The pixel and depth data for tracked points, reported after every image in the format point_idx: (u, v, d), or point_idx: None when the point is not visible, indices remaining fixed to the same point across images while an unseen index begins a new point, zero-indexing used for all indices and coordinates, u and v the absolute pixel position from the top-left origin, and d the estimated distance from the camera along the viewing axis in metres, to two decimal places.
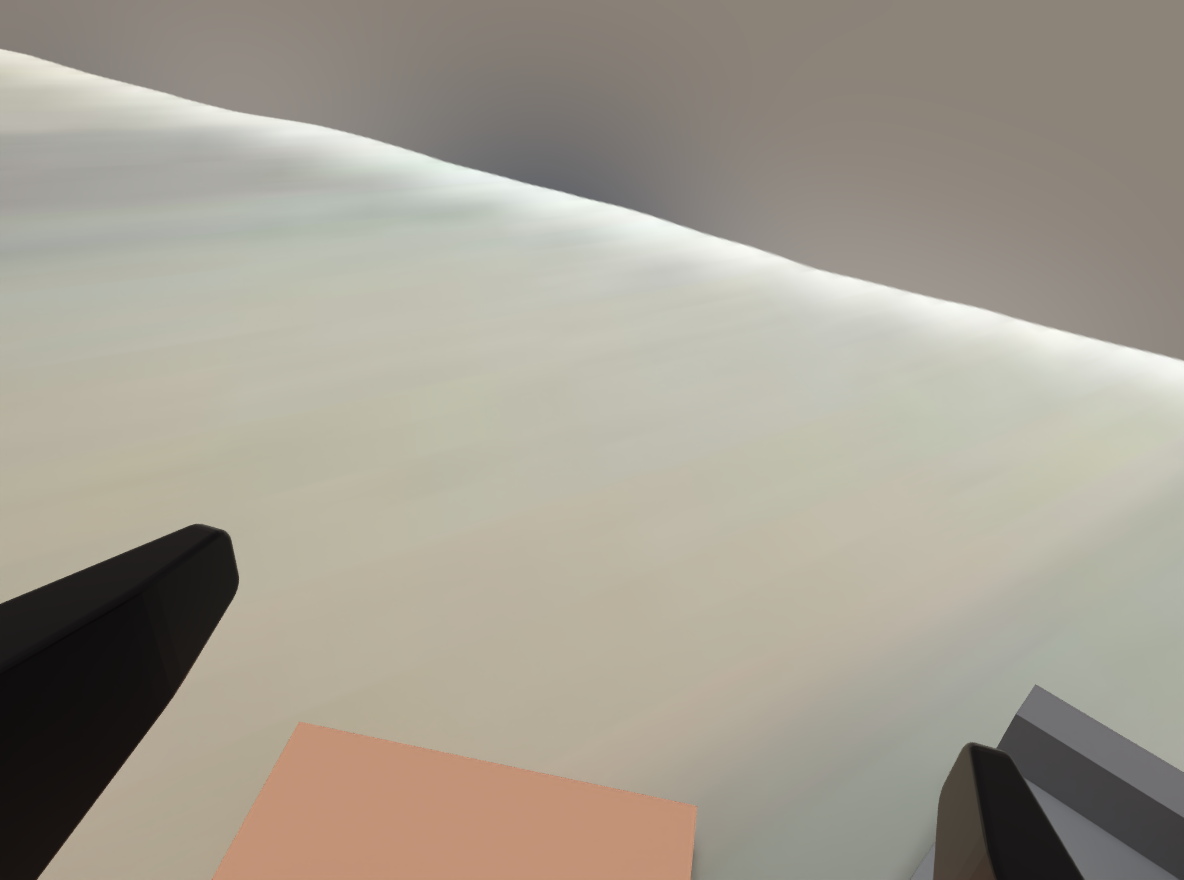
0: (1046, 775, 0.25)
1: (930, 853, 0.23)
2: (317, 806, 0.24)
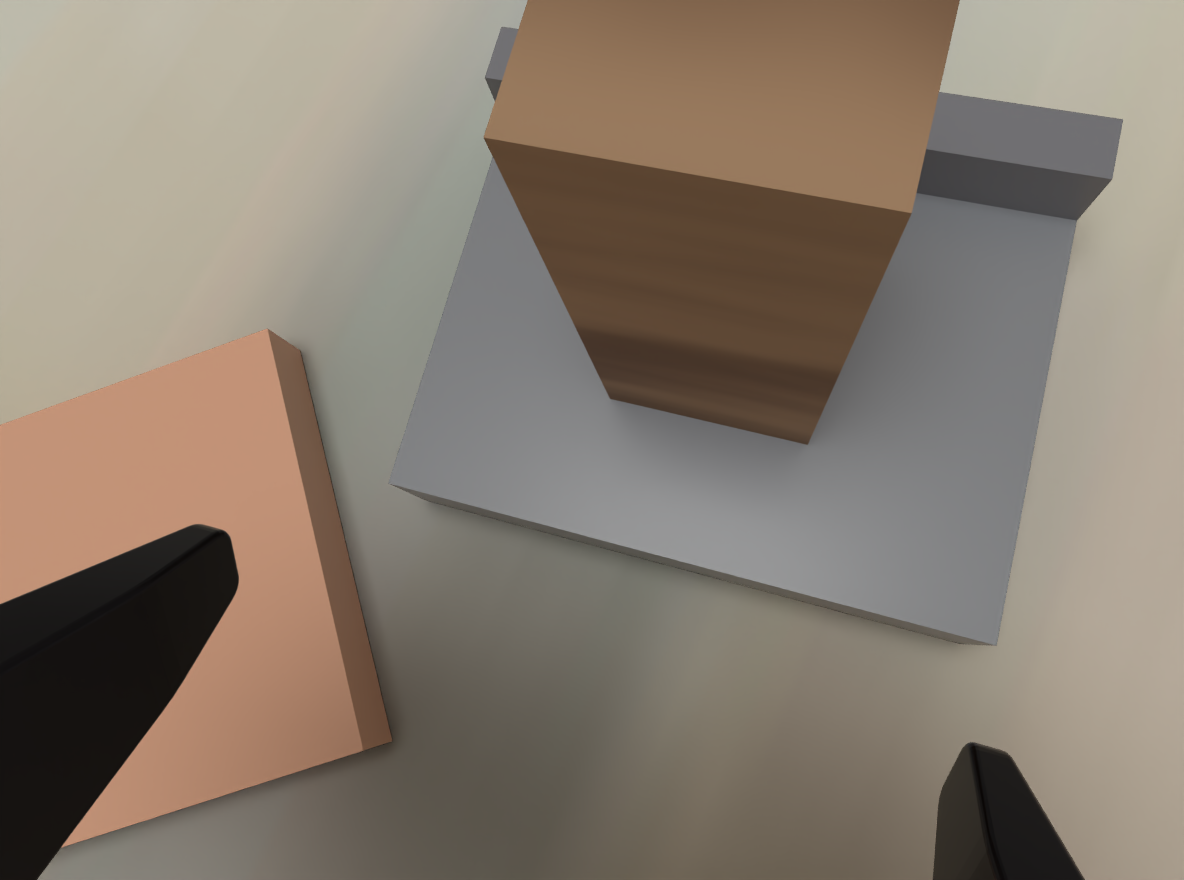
0: None
1: (461, 260, 0.23)
2: None
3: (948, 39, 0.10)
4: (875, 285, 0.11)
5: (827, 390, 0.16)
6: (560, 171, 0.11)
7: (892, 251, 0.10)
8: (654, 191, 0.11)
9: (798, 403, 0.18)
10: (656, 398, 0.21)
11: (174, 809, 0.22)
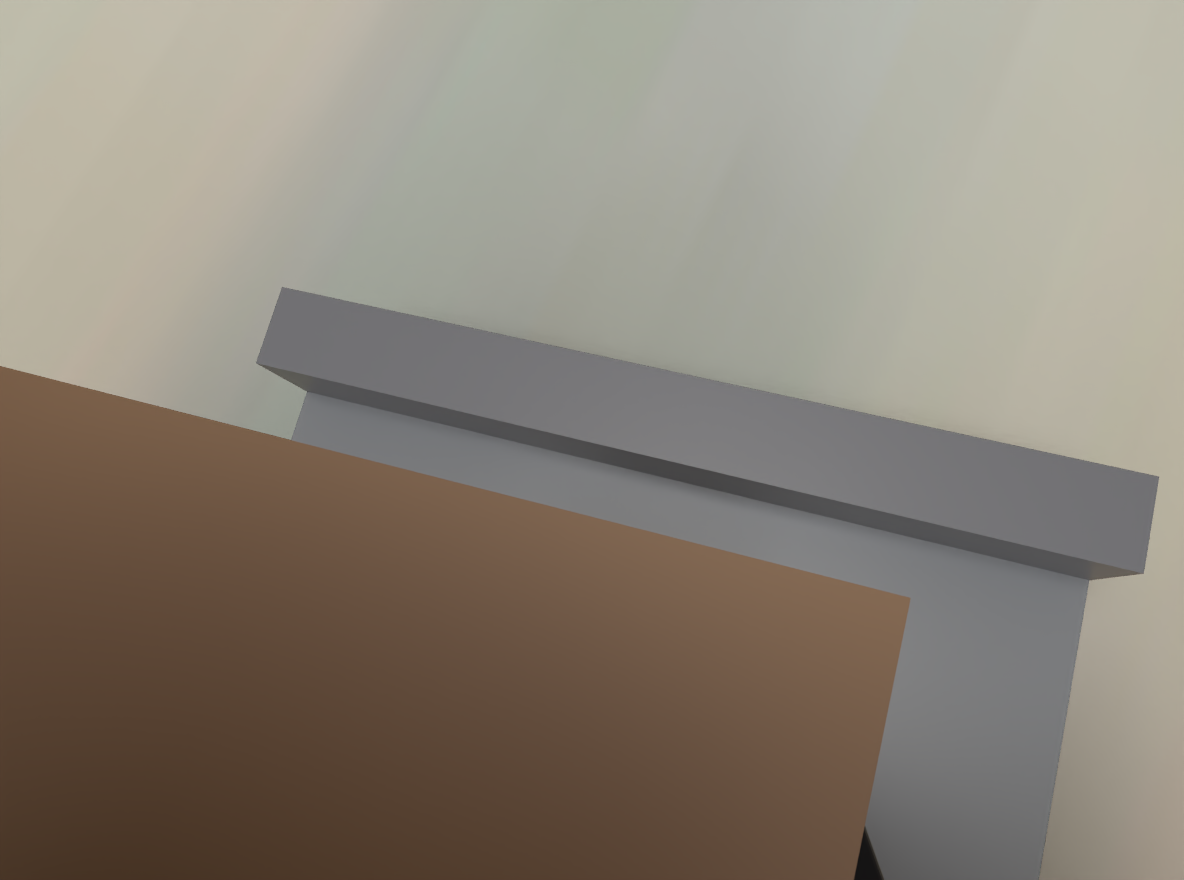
0: (357, 399, 0.17)
1: None
2: None
3: None
4: None
5: None
6: None
7: None
8: None
9: None
10: None
11: None
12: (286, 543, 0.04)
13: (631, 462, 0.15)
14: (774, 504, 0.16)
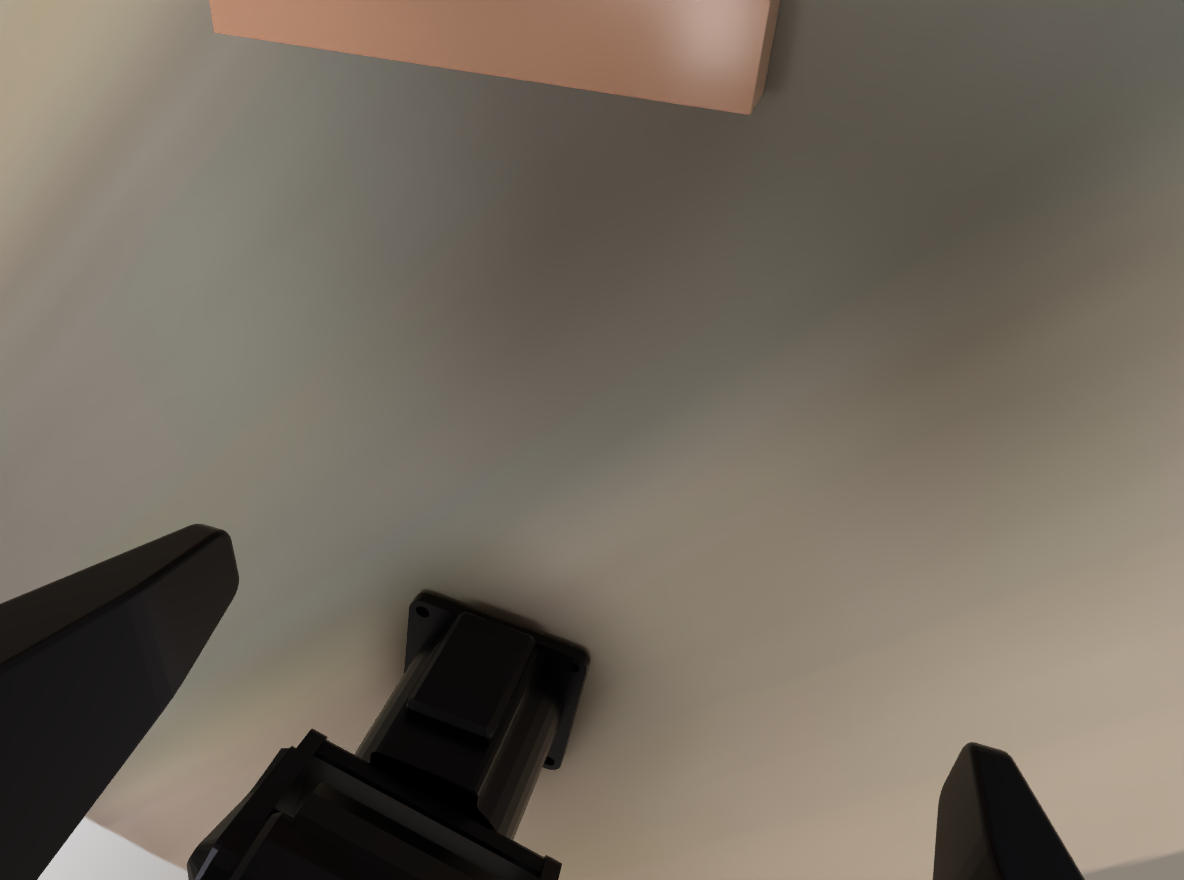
0: None
1: None
2: None
3: None
4: None
5: None
6: None
7: None
8: None
9: None
10: None
11: (498, 73, 0.18)
12: None
13: None
14: None
